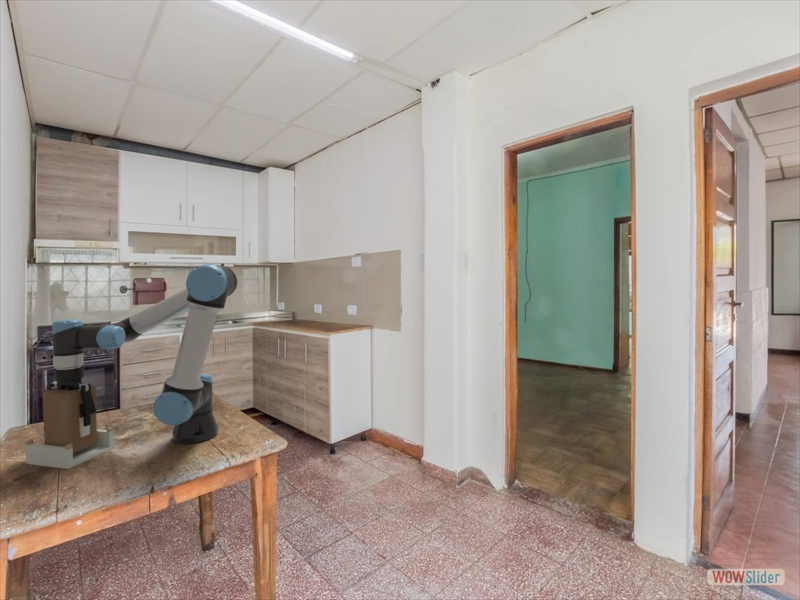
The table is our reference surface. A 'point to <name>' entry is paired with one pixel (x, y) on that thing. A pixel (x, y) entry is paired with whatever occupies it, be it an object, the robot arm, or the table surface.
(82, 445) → the wooden block
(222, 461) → the table surface
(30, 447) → the pale green tray
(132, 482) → the table surface
